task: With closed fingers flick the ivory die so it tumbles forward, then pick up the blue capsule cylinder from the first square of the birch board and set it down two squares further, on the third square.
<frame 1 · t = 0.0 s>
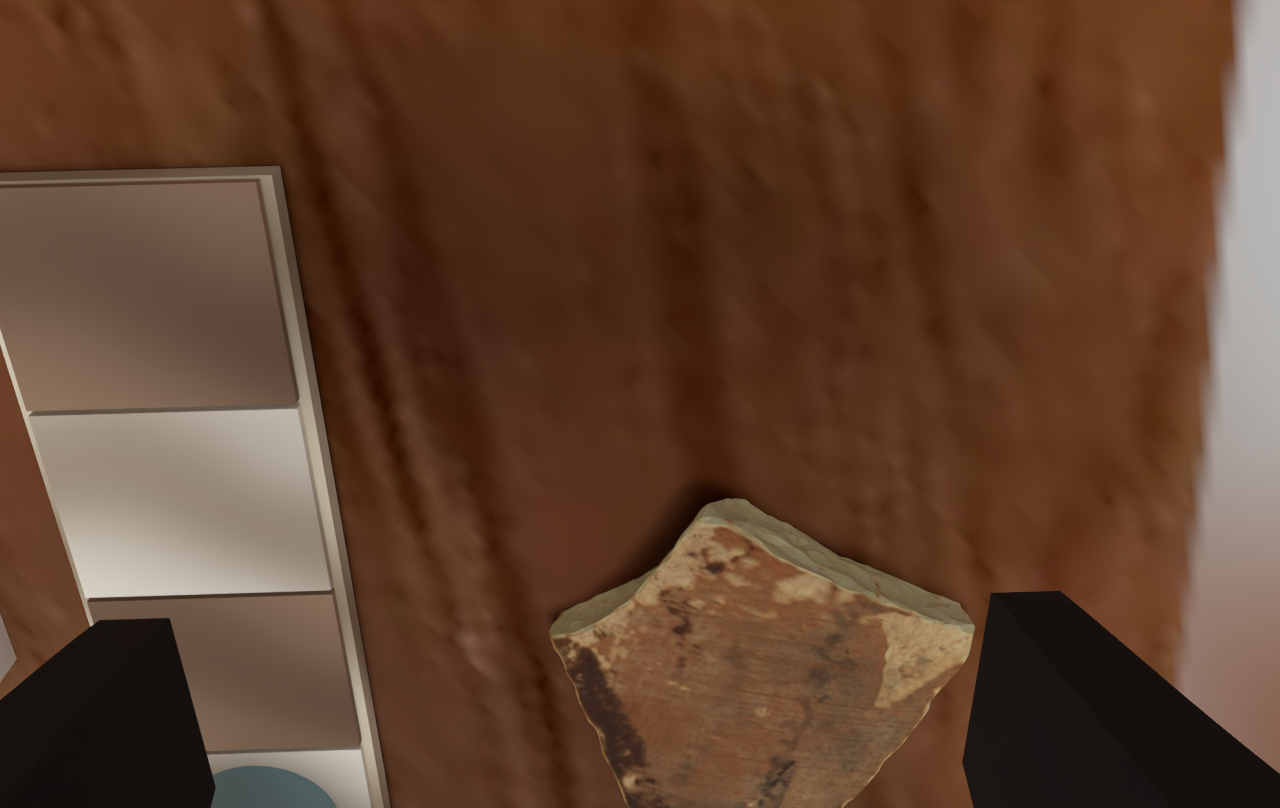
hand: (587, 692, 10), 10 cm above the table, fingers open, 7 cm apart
shard: (786, 684, 24), on the table
board: (220, 573, 22), on the table
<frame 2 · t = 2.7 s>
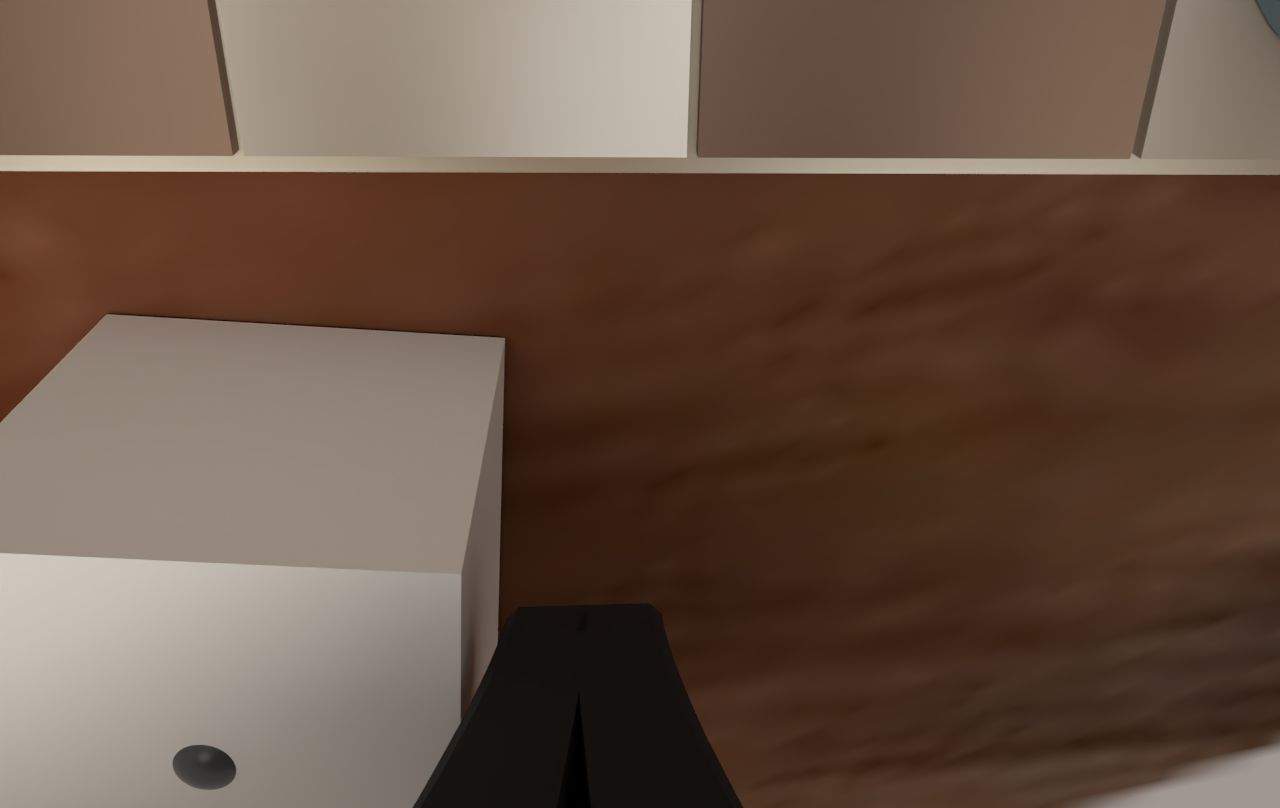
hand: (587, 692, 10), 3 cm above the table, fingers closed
die: (319, 491, 12), on the table, touching gripper
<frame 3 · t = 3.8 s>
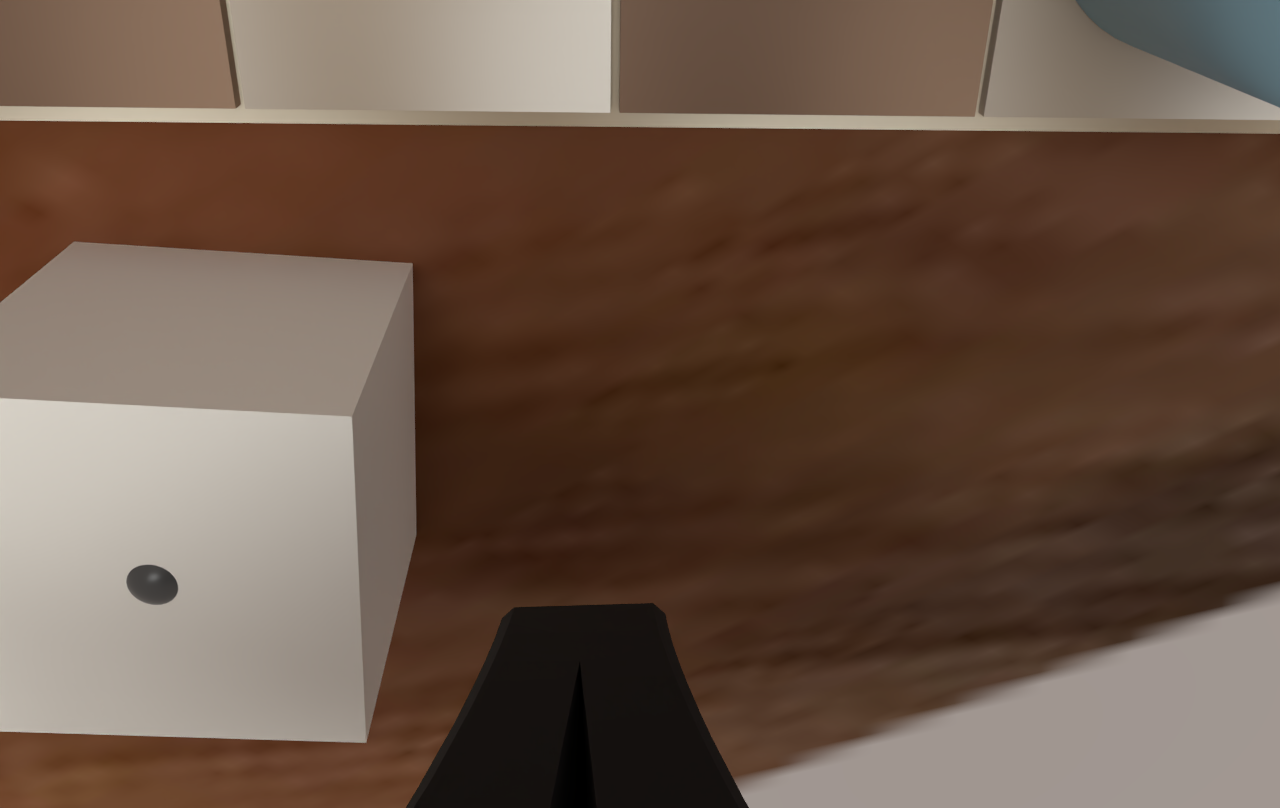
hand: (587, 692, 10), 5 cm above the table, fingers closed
die: (259, 396, 14), on the table
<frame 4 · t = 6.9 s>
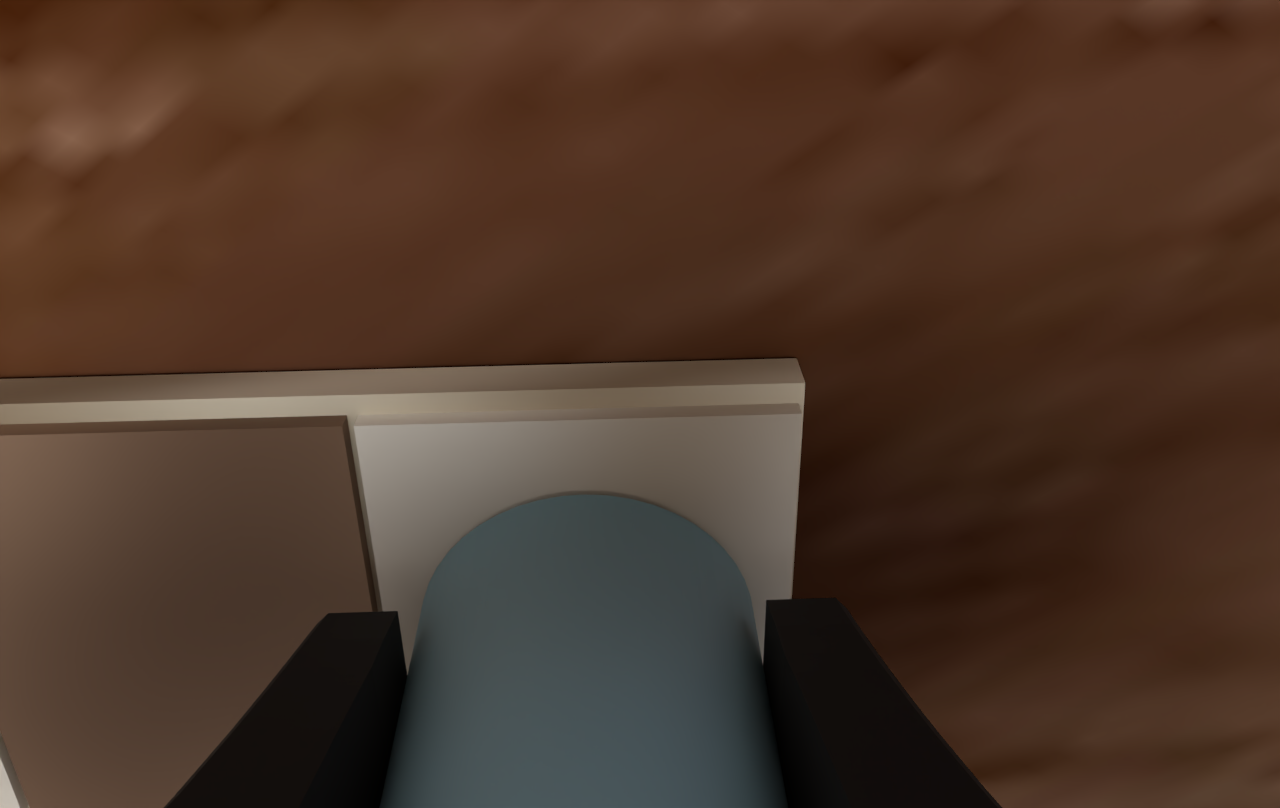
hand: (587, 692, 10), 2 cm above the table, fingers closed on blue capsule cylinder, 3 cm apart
blue capsule cylinder: (588, 631, 11), point 1 cm above the table, touching board, gripper
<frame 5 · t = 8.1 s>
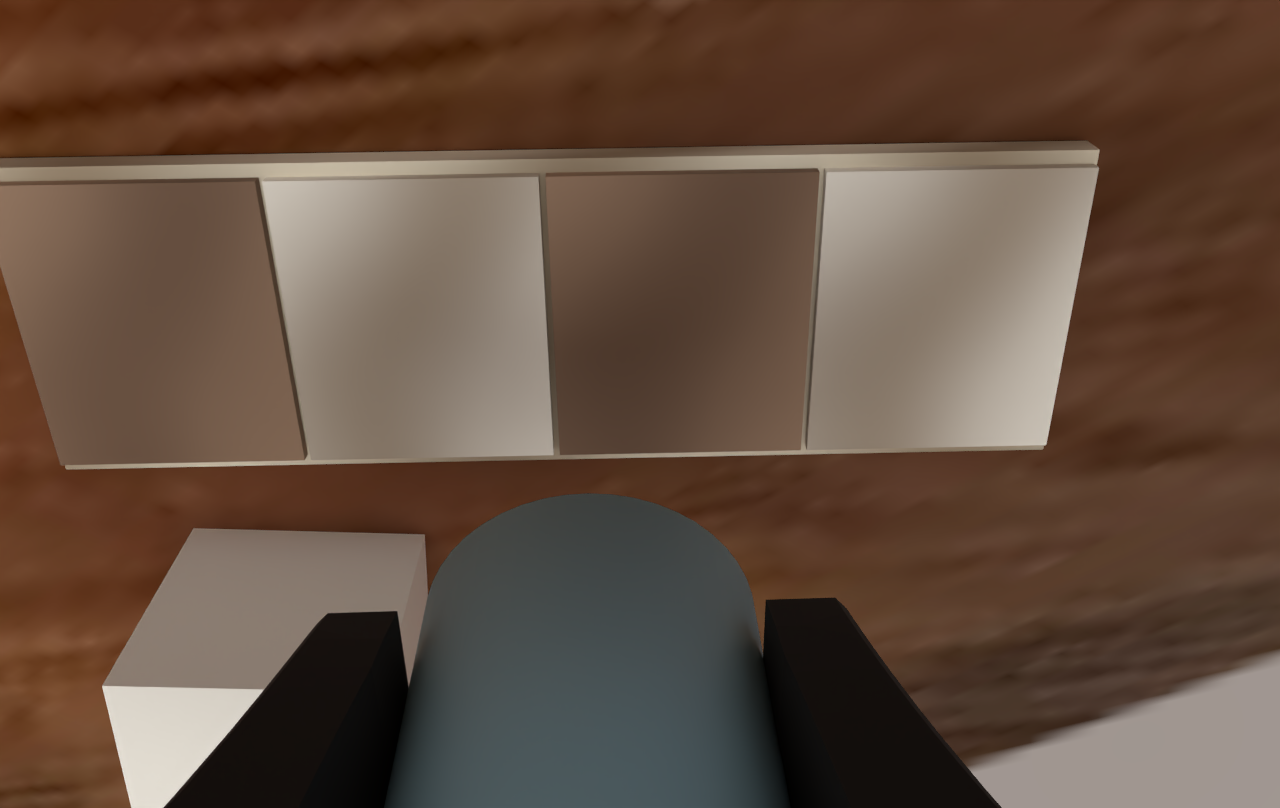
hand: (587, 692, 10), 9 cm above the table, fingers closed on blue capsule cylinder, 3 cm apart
blue capsule cylinder: (590, 629, 11), point 8 cm above the table, touching gripper
board: (551, 306, 17), on the table
die: (320, 618, 20), on the table
when the fingers open (2 cm above the table, at t = 9.7 s): blue capsule cylinder stays where it is, resting on board.
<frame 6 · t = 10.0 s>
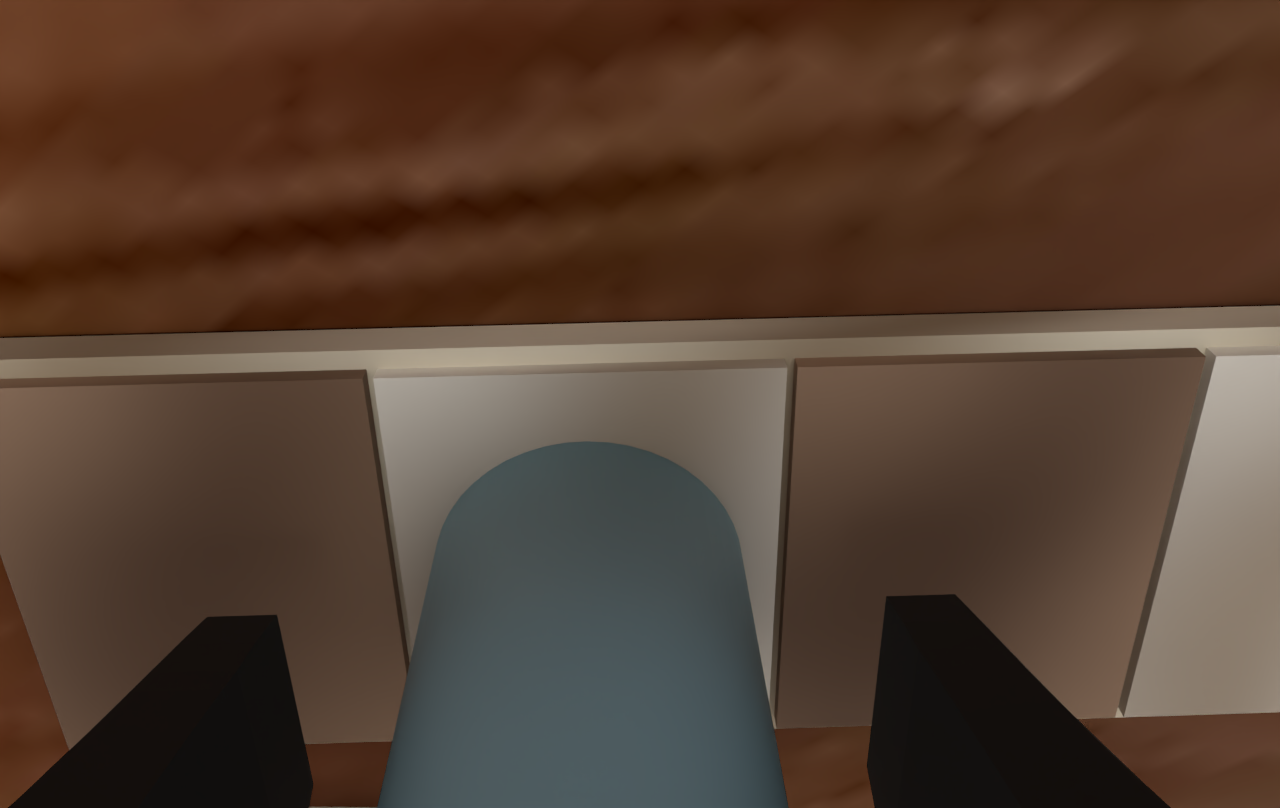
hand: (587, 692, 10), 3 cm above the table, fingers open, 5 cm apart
blue capsule cylinder: (589, 574, 12), point 1 cm above the table, touching board
board: (772, 526, 12), on the table
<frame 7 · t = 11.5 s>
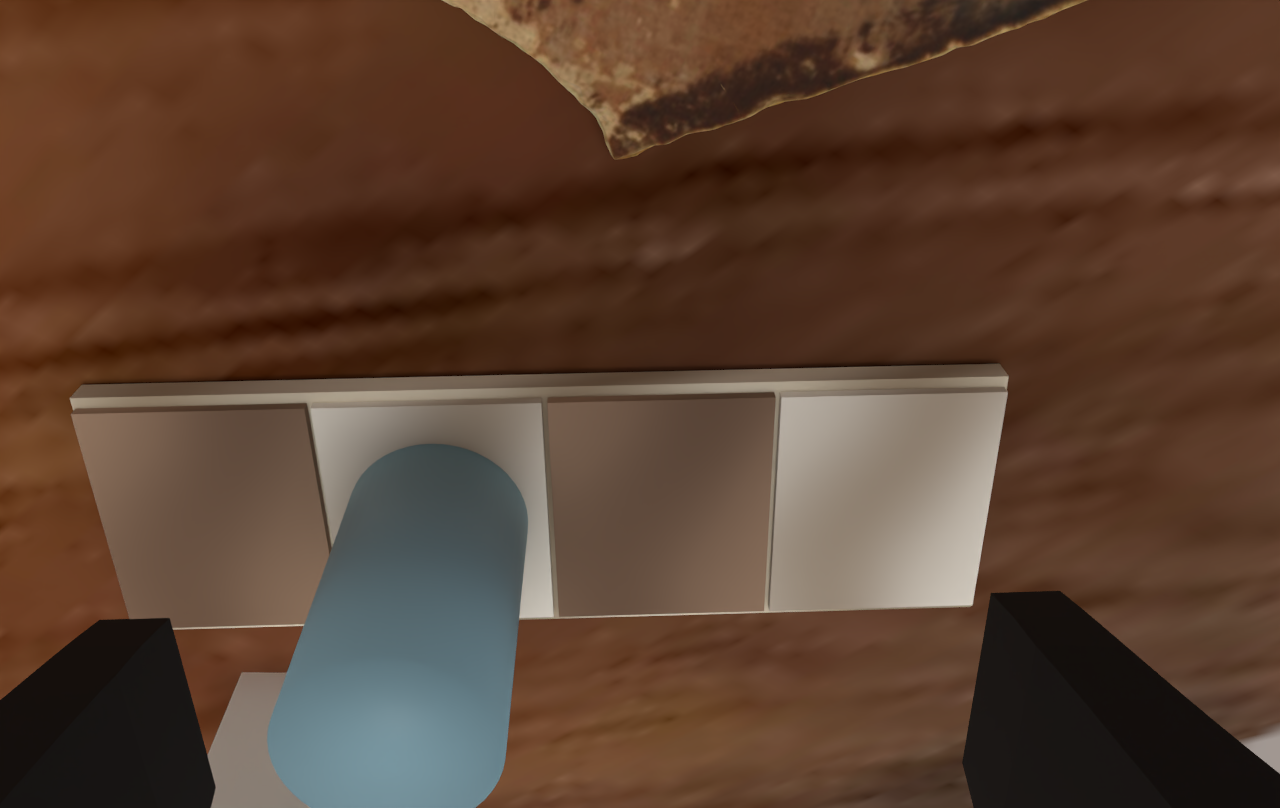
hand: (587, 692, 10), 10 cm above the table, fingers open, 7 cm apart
blue capsule cylinder: (438, 520, 20), point 1 cm above the table, touching board
board: (552, 494, 21), on the table
die: (350, 743, 23), on the table
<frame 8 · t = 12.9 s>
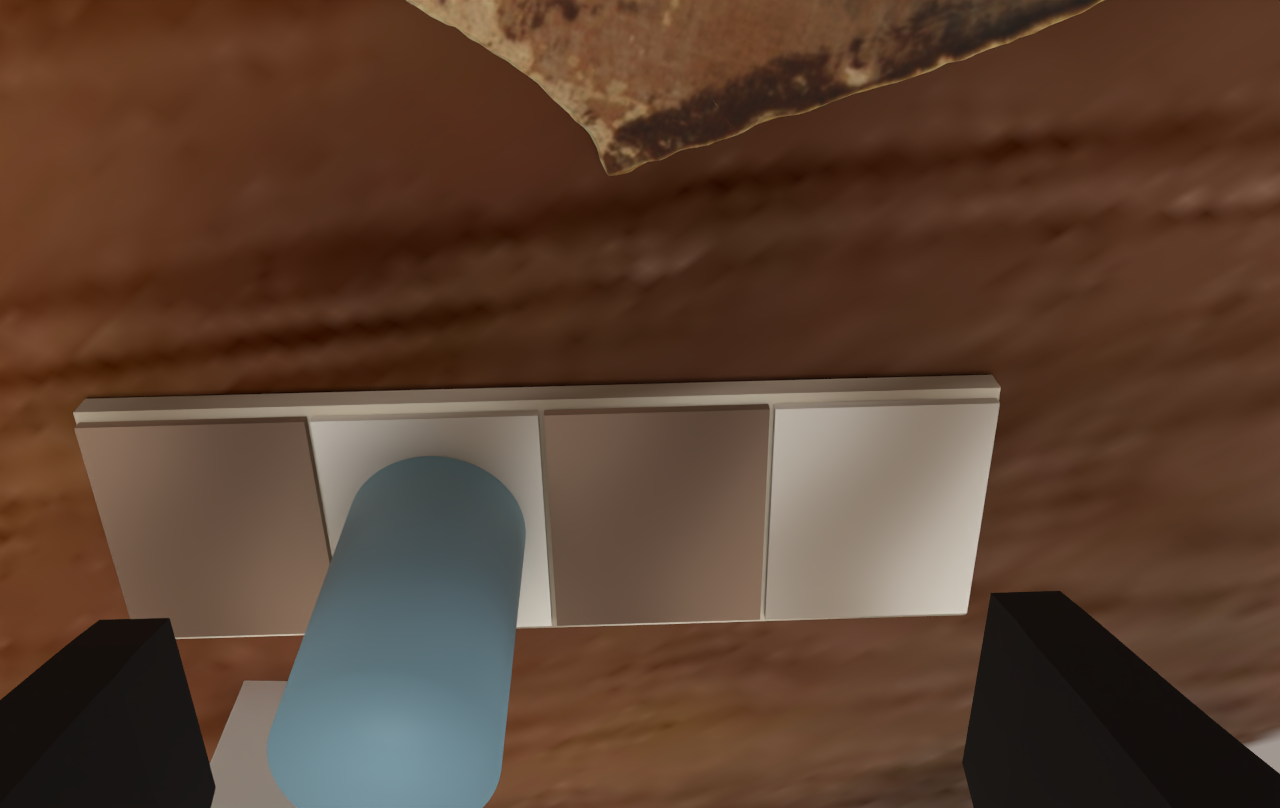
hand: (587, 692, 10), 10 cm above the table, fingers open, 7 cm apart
blue capsule cylinder: (437, 531, 20), point 1 cm above the table, touching board
board: (549, 505, 21), on the table
die: (352, 750, 24), on the table
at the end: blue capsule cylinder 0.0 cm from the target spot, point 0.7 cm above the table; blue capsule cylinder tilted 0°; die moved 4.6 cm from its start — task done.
